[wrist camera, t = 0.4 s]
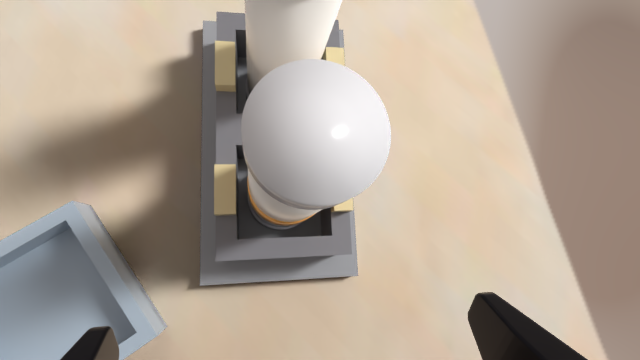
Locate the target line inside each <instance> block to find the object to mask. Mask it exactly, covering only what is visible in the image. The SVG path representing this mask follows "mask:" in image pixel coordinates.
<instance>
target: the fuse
mask: <svg viewBox="0 0 640 360" xmlns="http://www.w3.org/2000/svg"><path fill="white" fill-rule="evenodd" d="M341 3H342V0H245V23H246V55H247V79H246V98H247V99H248V97H249V95H250V93H251V91H252V90H253V89H254V87H255V86H256V84H257V83H258V82H259V81H260V80H261V79H262V78H263V77H264V76H265V75H267V74H268V73H269V72H271V71H272V70H274V69H275V68H277V67H279V66H281V65H284V64H286V63H289V62H292V61H297V60H303V59H321V58H322V55H323V52H324V50H325V47H326V44H327V41H328V39H329V36H330V33H331V30H332V28H333V25H334V22H335V19H336V17H337V14H338V11H339V8H340V6H341Z"/></svg>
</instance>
